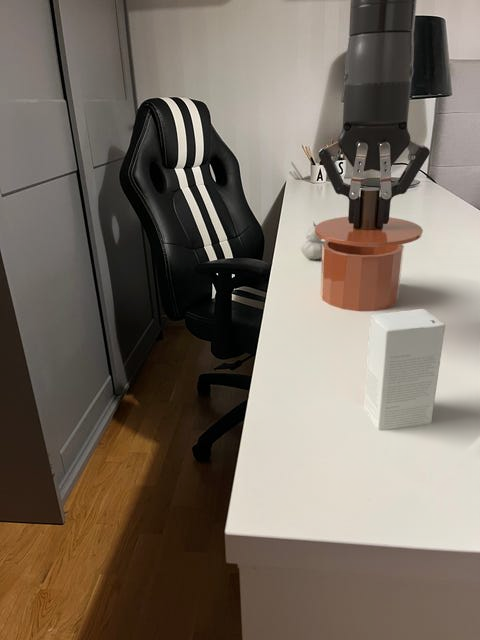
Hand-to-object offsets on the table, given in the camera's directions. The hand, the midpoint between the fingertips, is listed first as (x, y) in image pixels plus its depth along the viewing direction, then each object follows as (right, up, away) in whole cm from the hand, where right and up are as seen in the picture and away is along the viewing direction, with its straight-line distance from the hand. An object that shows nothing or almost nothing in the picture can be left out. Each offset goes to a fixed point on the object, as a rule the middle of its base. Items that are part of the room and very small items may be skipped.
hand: (367, 226), depth 65 cm
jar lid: (0, -1, 0) cm, 1 cm away
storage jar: (+3, -9, +20) cm, 22 cm away
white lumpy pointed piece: (0, +1, +40) cm, 40 cm away
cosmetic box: (0, -23, -11) cm, 26 cm away
